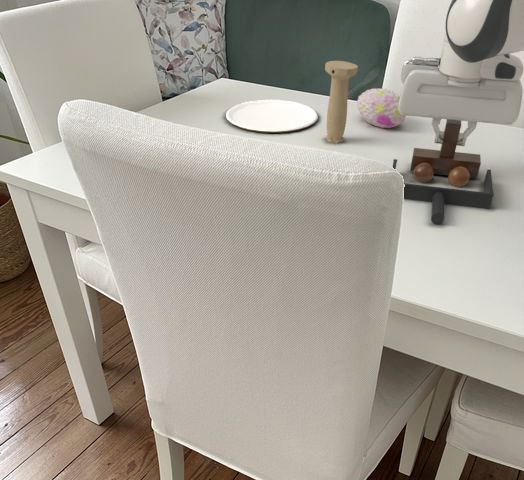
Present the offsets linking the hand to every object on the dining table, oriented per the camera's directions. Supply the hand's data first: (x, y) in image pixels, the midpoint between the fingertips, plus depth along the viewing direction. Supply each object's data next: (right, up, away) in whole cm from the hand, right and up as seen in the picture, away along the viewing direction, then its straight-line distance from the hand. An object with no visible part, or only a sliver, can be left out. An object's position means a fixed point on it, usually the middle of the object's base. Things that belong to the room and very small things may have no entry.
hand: (449, 143), depth 103 cm
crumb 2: (+1, -6, -1) cm, 6 cm away
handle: (-19, +6, +16) cm, 25 cm away
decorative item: (-8, +13, +24) cm, 28 cm away
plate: (-32, +15, +26) cm, 44 cm away
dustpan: (-4, -12, -4) cm, 13 cm away
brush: (0, -4, +3) cm, 5 cm away
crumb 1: (-5, -5, 0) cm, 7 cm away
